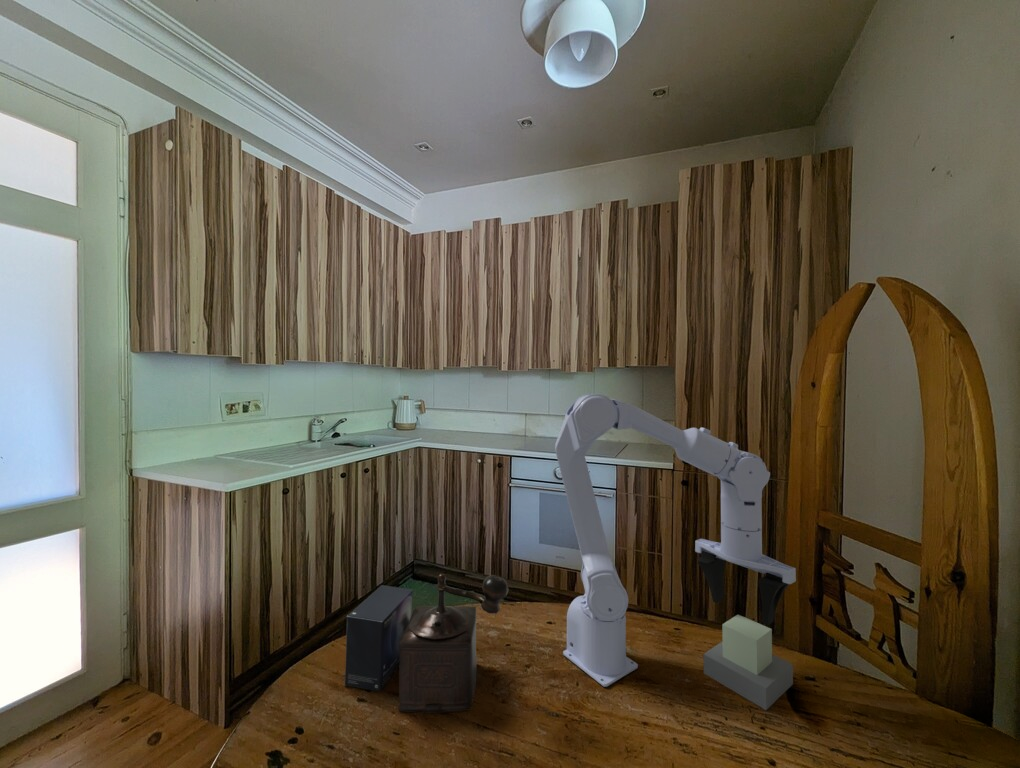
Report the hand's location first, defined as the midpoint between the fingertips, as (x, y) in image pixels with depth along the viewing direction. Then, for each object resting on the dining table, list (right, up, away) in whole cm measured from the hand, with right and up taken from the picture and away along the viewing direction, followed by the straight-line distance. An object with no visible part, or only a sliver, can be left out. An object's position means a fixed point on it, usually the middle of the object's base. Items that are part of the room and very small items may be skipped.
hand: (741, 611), depth 64 cm
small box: (-58, -10, +1) cm, 59 cm away
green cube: (0, -6, -2) cm, 7 cm away
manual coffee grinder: (-45, -9, -4) cm, 46 cm away
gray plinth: (0, -9, -2) cm, 10 cm away
